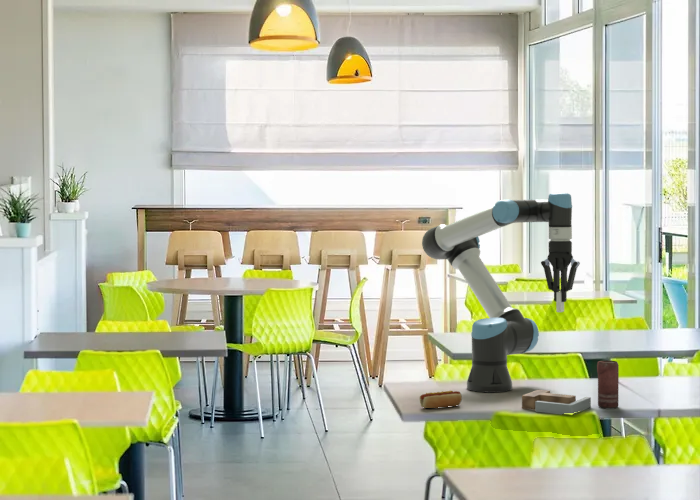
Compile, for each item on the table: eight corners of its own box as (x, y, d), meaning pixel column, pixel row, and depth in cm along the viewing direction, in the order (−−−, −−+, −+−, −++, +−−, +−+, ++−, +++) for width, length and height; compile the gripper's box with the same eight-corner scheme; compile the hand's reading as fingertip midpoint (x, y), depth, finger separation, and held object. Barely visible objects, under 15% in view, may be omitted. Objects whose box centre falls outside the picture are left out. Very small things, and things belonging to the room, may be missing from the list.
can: (594, 405, 328) (594, 360, 328) (614, 404, 329) (614, 359, 328) (600, 409, 322) (600, 363, 322) (621, 408, 323) (621, 362, 322)
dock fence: (535, 411, 319) (535, 401, 319) (555, 403, 332) (555, 393, 332) (571, 415, 313) (571, 405, 313) (590, 407, 325) (590, 397, 325)
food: (425, 411, 322) (425, 394, 322) (416, 408, 327) (416, 392, 327) (465, 407, 328) (464, 391, 328) (455, 404, 333) (455, 388, 333)
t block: (522, 408, 325) (521, 395, 324) (538, 402, 335) (538, 389, 334) (565, 413, 317) (565, 399, 317) (580, 406, 327) (580, 393, 327)
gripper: (537, 240, 352) (537, 311, 353) (574, 240, 344) (574, 313, 345) (546, 239, 358) (546, 309, 359) (583, 240, 350) (583, 311, 351)
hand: (560, 311), depth 352 cm, fingers closed
